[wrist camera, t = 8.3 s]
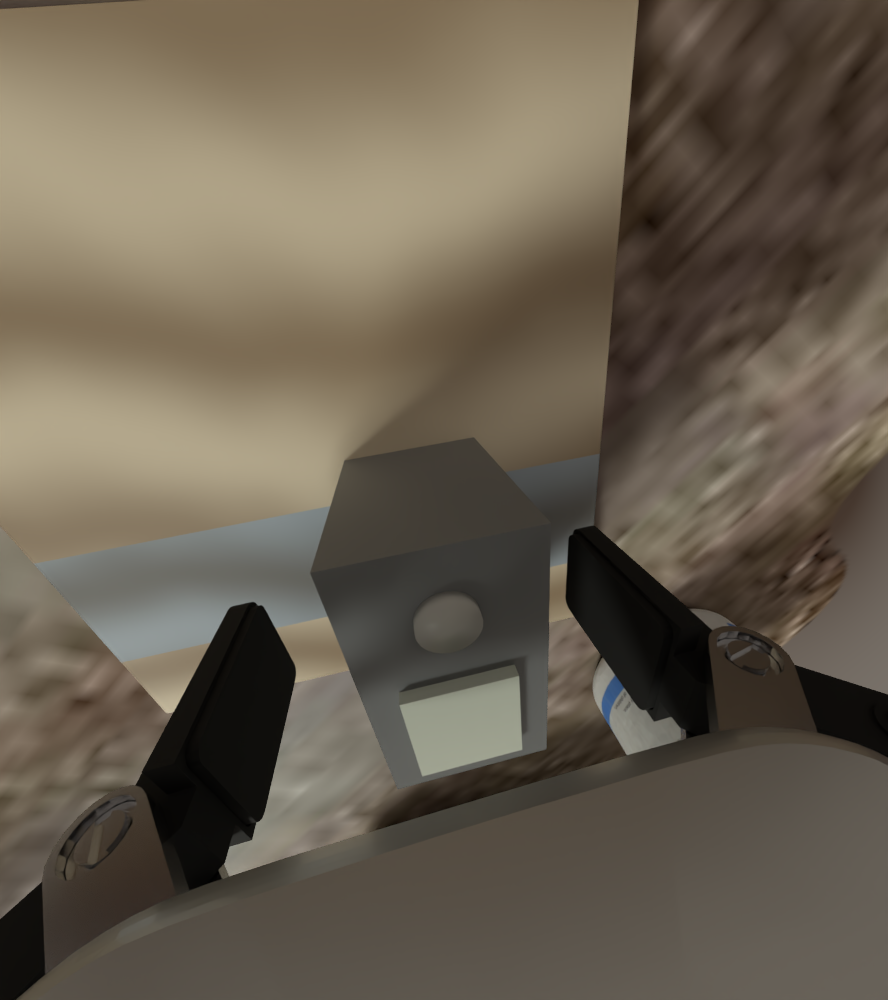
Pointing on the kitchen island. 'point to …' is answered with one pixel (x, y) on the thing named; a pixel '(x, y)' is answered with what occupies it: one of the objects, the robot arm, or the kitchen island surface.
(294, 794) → the kitchen island surface
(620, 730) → the supplement tub
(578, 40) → the plywood panel
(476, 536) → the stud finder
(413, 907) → the robot arm
